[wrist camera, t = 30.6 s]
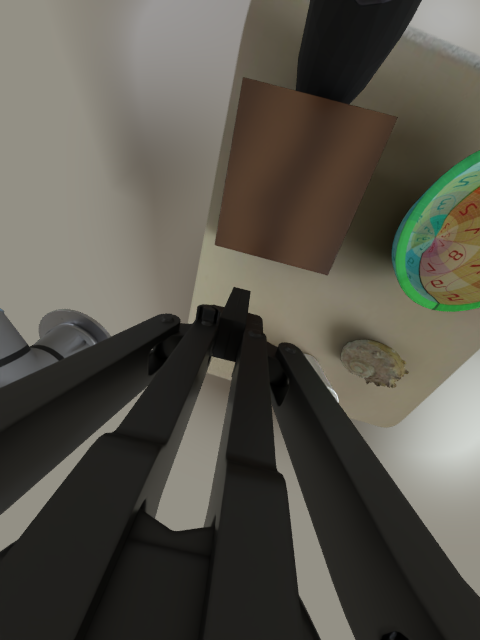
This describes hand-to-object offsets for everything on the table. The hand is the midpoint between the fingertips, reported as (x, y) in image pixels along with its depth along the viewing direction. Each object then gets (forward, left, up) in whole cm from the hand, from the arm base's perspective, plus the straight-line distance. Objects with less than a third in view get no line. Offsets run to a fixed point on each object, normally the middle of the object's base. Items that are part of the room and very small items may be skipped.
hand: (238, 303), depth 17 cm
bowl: (+31, +13, -26) cm, 43 cm away
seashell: (+33, -14, -26) cm, 44 cm away
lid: (+3, +12, -15) cm, 19 cm away
